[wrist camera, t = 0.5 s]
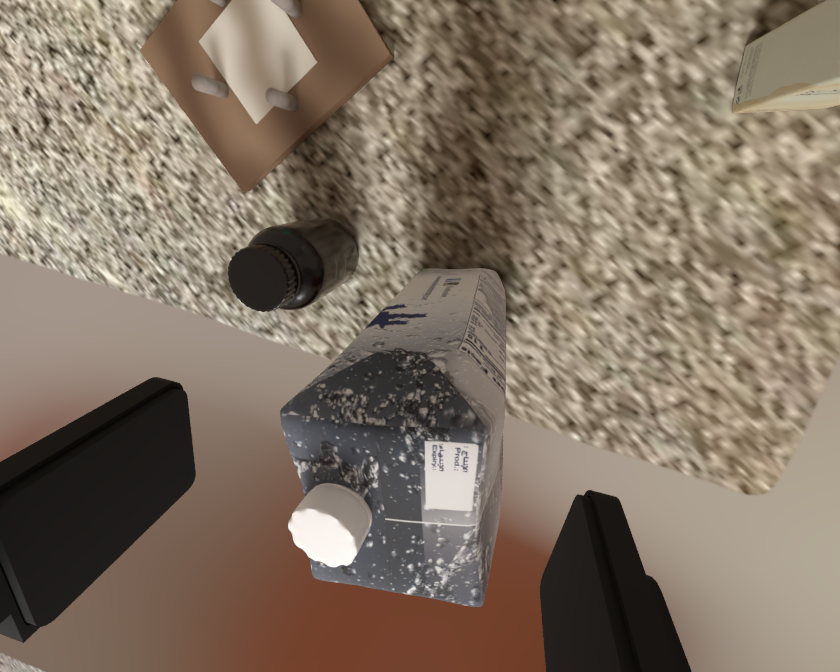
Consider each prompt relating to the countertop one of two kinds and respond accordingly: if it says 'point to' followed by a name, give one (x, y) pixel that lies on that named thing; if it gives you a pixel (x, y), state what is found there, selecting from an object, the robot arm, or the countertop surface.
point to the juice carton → (408, 443)
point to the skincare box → (793, 64)
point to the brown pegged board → (263, 72)
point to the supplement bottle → (293, 264)
